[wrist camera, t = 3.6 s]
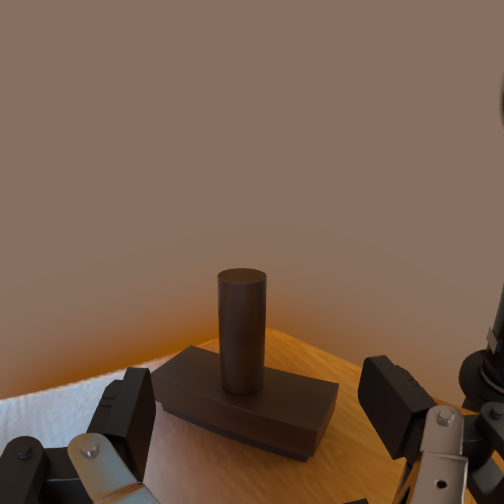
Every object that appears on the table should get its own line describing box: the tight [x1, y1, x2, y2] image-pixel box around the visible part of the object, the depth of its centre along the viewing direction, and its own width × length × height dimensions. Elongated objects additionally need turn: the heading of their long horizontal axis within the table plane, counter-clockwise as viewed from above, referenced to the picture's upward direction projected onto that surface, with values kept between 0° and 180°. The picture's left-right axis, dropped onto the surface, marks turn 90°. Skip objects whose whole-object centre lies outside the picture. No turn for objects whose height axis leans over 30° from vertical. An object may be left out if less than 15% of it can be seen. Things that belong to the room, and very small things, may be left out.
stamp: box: [150, 268, 339, 462], centre depth 20 cm, size 5×12×11 cm, turn 64°
